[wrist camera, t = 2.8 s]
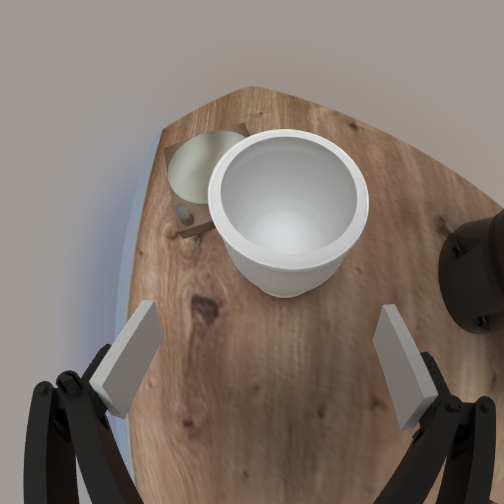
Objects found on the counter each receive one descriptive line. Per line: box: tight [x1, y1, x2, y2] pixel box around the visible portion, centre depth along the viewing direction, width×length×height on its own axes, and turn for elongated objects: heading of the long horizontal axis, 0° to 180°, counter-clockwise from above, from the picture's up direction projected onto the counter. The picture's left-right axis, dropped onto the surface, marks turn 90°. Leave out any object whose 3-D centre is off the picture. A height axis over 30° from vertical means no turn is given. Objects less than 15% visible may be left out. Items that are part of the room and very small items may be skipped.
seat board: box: [164, 123, 250, 239], centre depth 33 cm, size 12×14×5 cm
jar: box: [208, 129, 369, 298], centre depth 23 cm, size 11×10×15 cm
